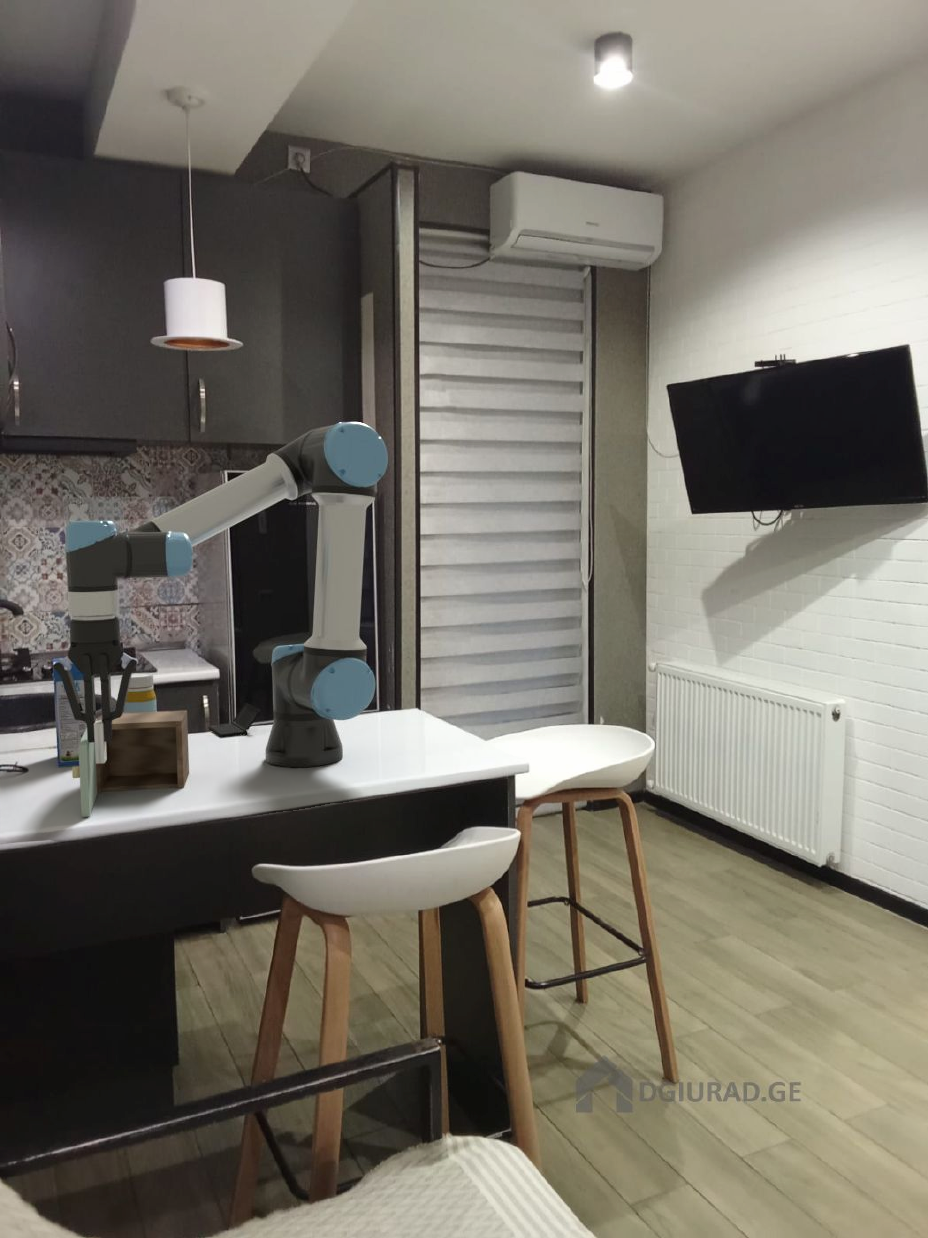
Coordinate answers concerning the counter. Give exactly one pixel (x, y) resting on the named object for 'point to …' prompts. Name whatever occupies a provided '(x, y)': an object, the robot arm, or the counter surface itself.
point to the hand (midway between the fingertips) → (101, 761)
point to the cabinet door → (86, 774)
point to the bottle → (140, 694)
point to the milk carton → (68, 719)
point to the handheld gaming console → (237, 723)
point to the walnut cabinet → (146, 752)
